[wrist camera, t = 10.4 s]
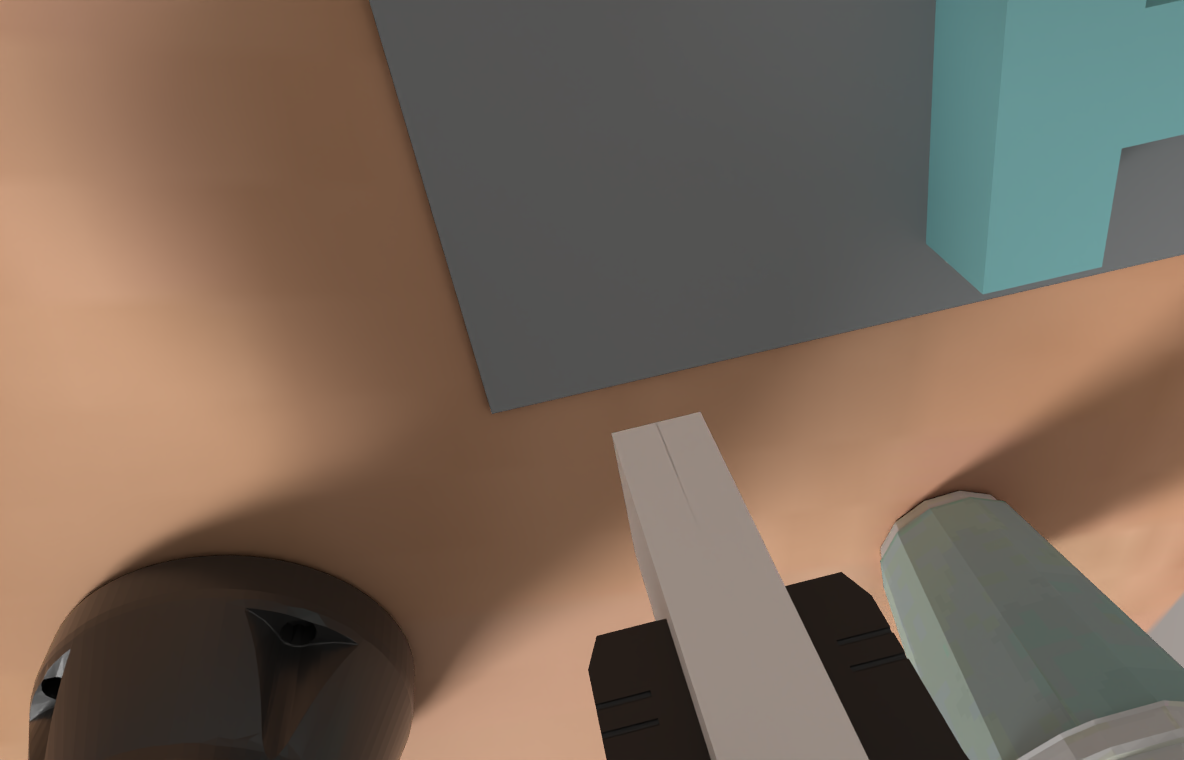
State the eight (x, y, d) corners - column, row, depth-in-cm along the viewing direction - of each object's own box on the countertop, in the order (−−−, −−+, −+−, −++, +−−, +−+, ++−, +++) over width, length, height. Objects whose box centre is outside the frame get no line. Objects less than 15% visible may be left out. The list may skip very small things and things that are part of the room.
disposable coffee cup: (1071, 556, 43) (1330, 862, 31) (870, 654, 45) (1037, 981, 32) (1016, 411, 37) (1305, 715, 25) (789, 531, 39) (953, 868, 27)
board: (1351, 211, 34) (1357, 214, 34) (491, 409, 33) (491, 413, 33) (1551, -394, 24) (1563, -396, 24) (330, -133, 23) (329, -133, 23)
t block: (1244, 170, 32) (1337, 212, 29) (925, 243, 32) (982, 294, 29) (1343, -224, 26) (1479, -228, 22) (941, -136, 25) (1018, -127, 22)
